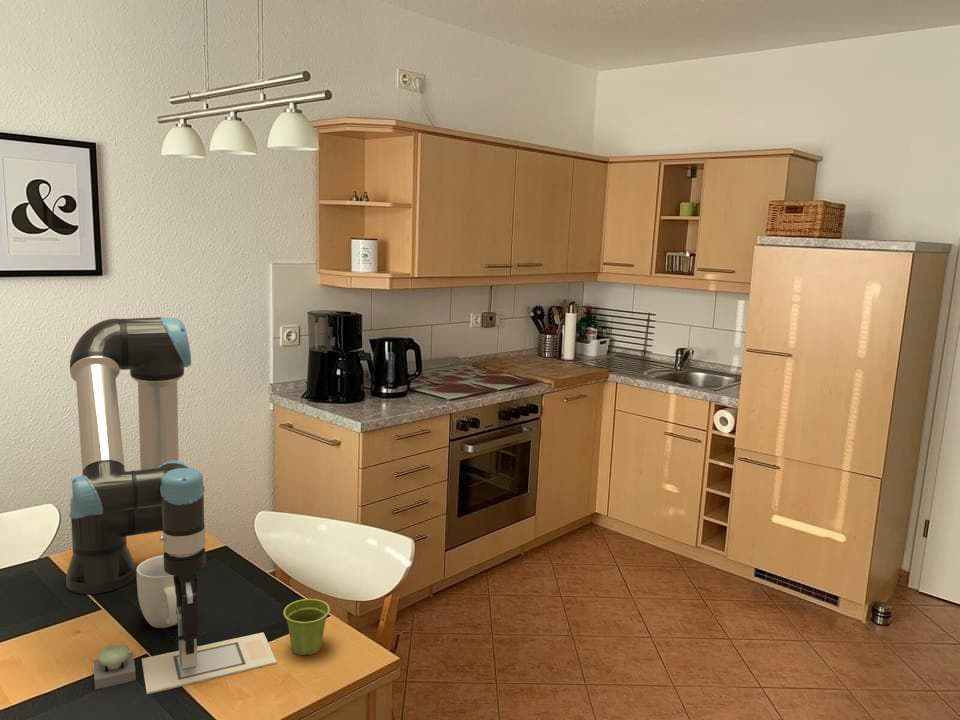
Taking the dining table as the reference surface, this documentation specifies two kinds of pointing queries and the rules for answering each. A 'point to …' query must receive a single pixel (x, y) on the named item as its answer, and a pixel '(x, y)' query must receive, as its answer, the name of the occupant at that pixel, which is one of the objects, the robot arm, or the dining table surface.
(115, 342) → the robot arm
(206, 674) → the sheet
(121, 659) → the button
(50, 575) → the dining table surface
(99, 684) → the button housing
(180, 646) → the square grey prism
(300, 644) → the plant pot
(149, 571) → the mug
